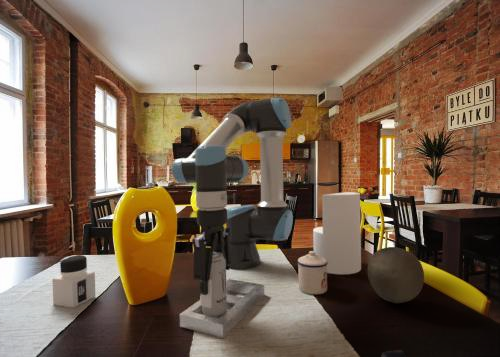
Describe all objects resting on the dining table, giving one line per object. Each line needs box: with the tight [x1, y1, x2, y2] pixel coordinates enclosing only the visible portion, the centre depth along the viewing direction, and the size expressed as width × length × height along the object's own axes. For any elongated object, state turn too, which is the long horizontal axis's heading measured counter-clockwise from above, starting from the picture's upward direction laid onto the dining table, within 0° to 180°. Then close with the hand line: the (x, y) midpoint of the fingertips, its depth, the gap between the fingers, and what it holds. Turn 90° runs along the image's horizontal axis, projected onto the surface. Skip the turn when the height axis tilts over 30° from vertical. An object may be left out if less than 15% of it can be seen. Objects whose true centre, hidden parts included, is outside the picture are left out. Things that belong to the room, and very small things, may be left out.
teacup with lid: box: [297, 250, 328, 295], centre depth 88 cm, size 12×9×12 cm
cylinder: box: [312, 191, 362, 275], centre depth 107 cm, size 17×17×28 cm
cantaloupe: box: [366, 246, 425, 304], centre depth 77 cm, size 14×14×15 cm
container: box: [52, 254, 96, 309], centre depth 83 cm, size 8×8×13 cm
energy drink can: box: [202, 252, 227, 319], centre depth 70 cm, size 6×6×15 cm
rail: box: [179, 278, 265, 339], centre depth 76 cm, size 24×12×3 cm, turn 155°
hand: (214, 300), depth 70 cm, fingers closed on energy drink can, 6 cm apart
